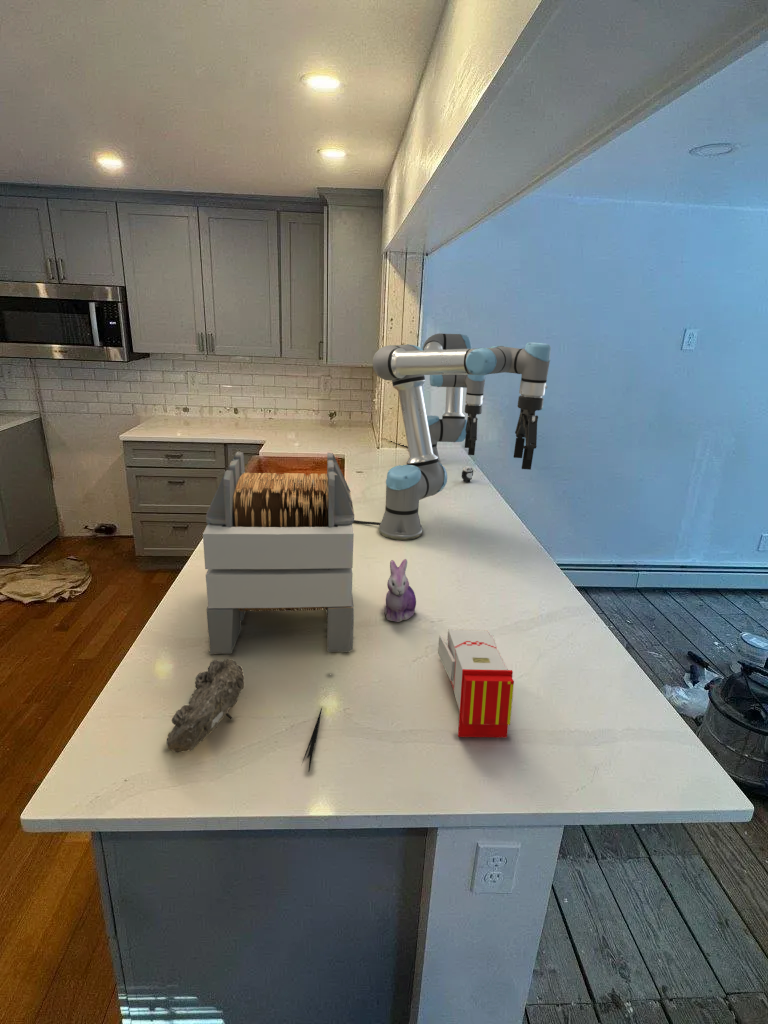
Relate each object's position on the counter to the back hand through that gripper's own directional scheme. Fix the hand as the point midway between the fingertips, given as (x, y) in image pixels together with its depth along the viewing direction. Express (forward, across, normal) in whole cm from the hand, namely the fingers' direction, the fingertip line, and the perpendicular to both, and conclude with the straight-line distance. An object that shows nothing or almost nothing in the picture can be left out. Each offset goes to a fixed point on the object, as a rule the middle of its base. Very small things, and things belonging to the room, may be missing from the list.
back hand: (469, 451), depth 258 cm
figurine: (+15, -123, +32) cm, 128 cm away
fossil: (+15, -165, +68) cm, 179 cm away
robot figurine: (+15, +2, 0) cm, 15 cm away
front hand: (-15, -77, -6) cm, 79 cm away
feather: (+15, -164, +48) cm, 171 cm away
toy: (+15, -154, +17) cm, 155 cm away
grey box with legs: (+15, -127, +61) cm, 142 cm away
